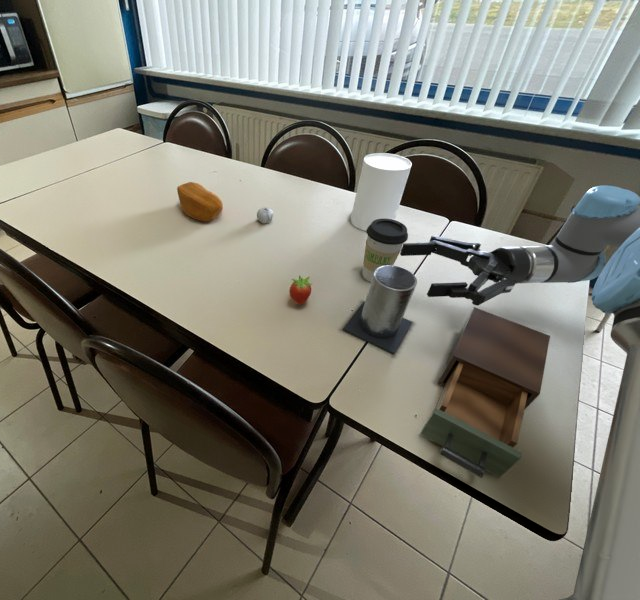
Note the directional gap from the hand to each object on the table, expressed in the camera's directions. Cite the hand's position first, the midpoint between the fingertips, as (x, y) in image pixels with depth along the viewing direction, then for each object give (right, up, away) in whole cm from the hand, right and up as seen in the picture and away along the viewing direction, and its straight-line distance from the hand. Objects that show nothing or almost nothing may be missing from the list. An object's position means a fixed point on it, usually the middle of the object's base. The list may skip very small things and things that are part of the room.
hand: (415, 268), depth 74 cm
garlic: (-27, +20, +48) cm, 58 cm away
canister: (+8, +19, +47) cm, 52 cm away
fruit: (-21, -7, +17) cm, 28 cm away
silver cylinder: (-3, -12, +11) cm, 17 cm away
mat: (-3, -13, +11) cm, 17 cm away
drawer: (+5, -29, -9) cm, 31 cm away
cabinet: (+14, -21, +1) cm, 26 cm away
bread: (-48, +24, +53) cm, 76 cm away
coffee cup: (+1, 0, +26) cm, 26 cm away
